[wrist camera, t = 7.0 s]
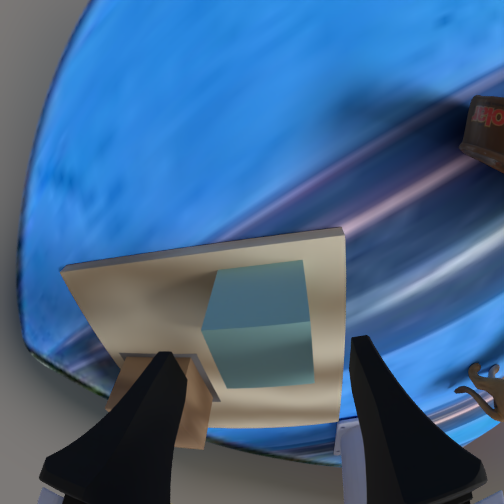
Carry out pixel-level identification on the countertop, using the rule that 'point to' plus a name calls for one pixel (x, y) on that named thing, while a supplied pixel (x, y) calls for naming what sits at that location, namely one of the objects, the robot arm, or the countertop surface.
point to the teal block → (260, 326)
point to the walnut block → (195, 403)
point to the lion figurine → (495, 386)
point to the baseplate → (194, 309)
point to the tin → (485, 131)
